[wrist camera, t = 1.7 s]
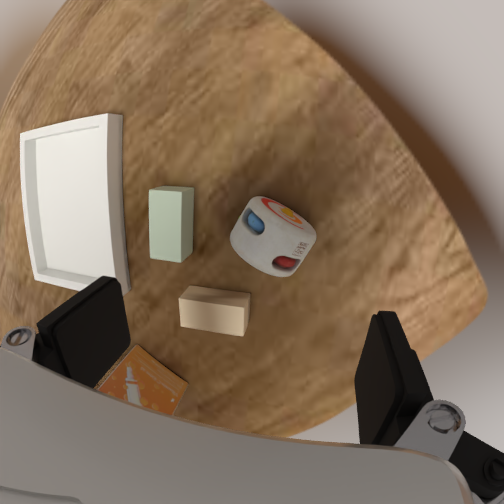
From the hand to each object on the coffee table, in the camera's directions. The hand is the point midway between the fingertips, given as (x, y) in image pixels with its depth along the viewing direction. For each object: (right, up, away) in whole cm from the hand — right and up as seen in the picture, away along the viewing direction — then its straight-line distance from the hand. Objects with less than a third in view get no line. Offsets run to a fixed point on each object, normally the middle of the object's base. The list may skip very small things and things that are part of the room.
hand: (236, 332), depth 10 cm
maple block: (-3, -2, +19) cm, 19 cm away
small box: (-12, -13, +24) cm, 30 cm away
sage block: (-6, +6, +17) cm, 19 cm away
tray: (-19, +8, +18) cm, 28 cm away
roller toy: (+3, +5, +16) cm, 17 cm away
